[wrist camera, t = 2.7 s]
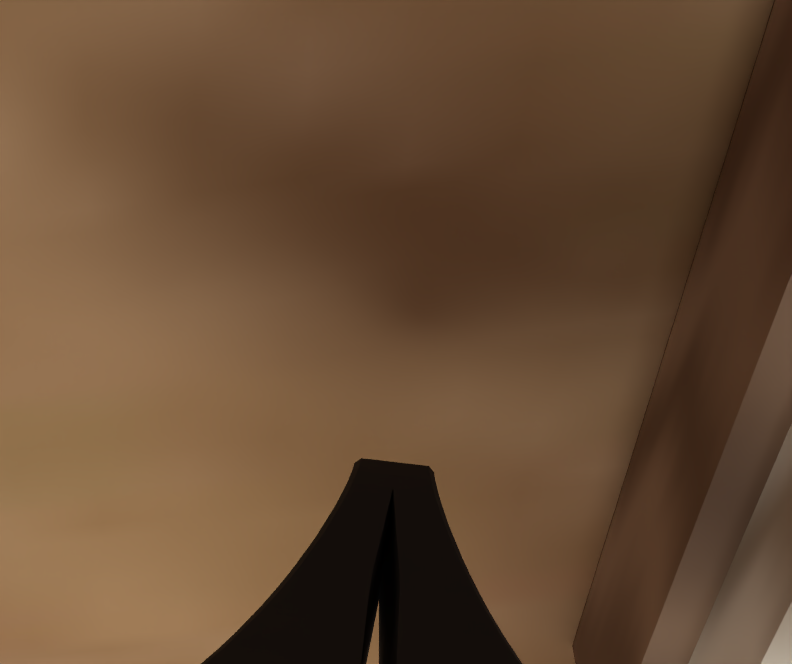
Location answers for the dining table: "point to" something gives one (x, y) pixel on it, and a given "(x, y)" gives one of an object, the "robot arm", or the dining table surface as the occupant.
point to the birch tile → (757, 583)
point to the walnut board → (709, 398)
